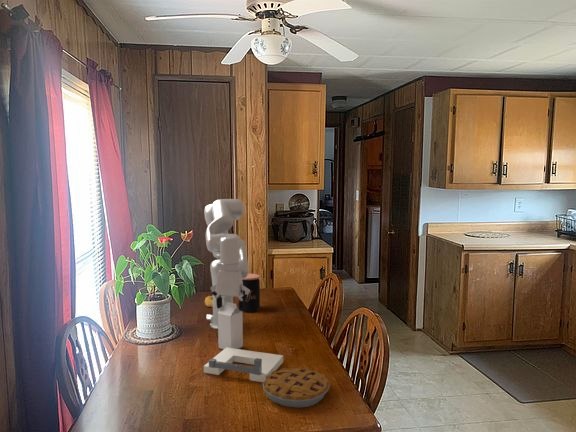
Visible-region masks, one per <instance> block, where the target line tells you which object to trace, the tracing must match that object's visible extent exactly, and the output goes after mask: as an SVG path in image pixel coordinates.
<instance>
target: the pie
mask: <svg viewBox="0 0 576 432" xmlns="http://www.w3.org/2000/svg"><path fill="white" fill-rule="evenodd" d="M330 386H331V383H330V380H329V379H328V378H327V376H326V375H325V374H324V373H319V371H317V370H316V369H313V370H310V369H309V368H308V367H302V368H298V367H294V366H292V367H290V368H286V367H283V368H280V370H278V371H277V370H276V371H273V372H272V373H271V375H269V376H267V377H266V380H265V381H264V382H262V387H263V388H262V389H263V391H264V392H265V393H266V395H267V398H268V399H270V401H272V402H273V403H276V404H278V405H281V406H284V407H290V408H309V407H312V406H314V405H316V404H318V403H319V402H321V401H322V399H324V397H325V396H326V393H328V392H329V389H330Z"/></svg>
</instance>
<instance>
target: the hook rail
mask: <svg viewBox="0 0 576 432" xmlns="http://www.w3.org/2000/svg"><path fill="white" fill-rule="evenodd" d="M208 362H209V367H211V368H220V369H225V370H229V371H234V372H241V373H248V374H250V373H252V374H255V375H260V374H261V373H262V359H259V358H256V359H255V360H254V365H253V366H251V365H249V366H248V365H243V364H237V363H233V362H232V363H225V362H218V361H216V359H213V357H212V358H209V359H208Z"/></svg>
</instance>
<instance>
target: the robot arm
mask: <svg viewBox="0 0 576 432" xmlns="http://www.w3.org/2000/svg"><path fill="white" fill-rule="evenodd" d="M244 208H245V206H244V204H243V201H242V200H240V199H239V198H224V199H223V198H220V199H216V200H215V201H213V203H210V204H207V205H206V206H205V207H204V210H203V211H204V220H205V223H206V225H207V227H206V230H205V243H206V244H205V245H206V248H207V251H208V252H210V253H212V255H213V258H215V259H214V260H213V261H211V262H210V267H209V268H210V276H211V283H212V286H210V291H211V292H212V293H211V294H212V296H213V307H212V314H208V313H207V314H206V315H205V316H206V318H205V320H206V321H210V323H209V326H210V329H211V328H212V329H215V330H218V312H219V310H220V309H221V307H222V306H223V304H224V301H226V302H230V303H234V297H236V298H238V308H239V311H241V310H242V309H243V308H244V299H245V298H246V297H247V296H248V294H249V293H250V289H248V288H246V287H245V286H243V282H242V278H245V277H247V275H248V274H249V262H248V254H247V253H248V252H247V248H246V243H245V241H244V239H242V238H241V237H239V235H238V234H236V233H229V230H231V228H232V227H233V225H234V221H238V220H240V219H241V218H242V217H243V215H244V212H245V211H244ZM243 290H244V291H245V295H243V294H242V293H243ZM239 299H240V301H239Z"/></svg>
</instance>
